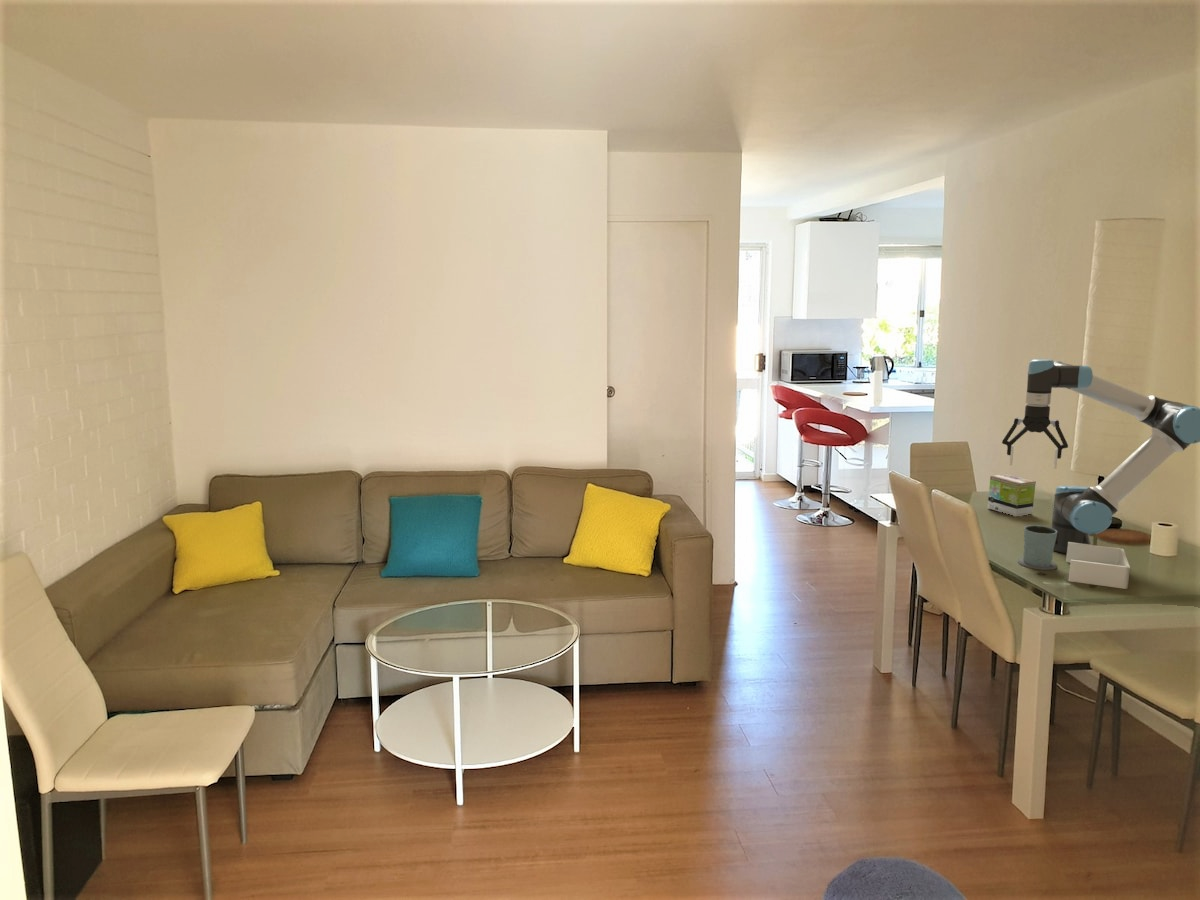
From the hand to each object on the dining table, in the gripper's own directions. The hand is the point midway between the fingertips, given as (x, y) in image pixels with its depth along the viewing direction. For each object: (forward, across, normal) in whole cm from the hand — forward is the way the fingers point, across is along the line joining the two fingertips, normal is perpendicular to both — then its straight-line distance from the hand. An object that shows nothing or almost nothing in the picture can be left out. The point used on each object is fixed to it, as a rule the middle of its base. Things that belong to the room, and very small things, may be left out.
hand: (1032, 466), depth 302 cm
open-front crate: (+33, +21, -11) cm, 40 cm away
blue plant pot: (+32, +4, -8) cm, 33 cm away
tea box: (+33, -7, +66) cm, 74 cm away
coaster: (+32, +4, -8) cm, 34 cm away
